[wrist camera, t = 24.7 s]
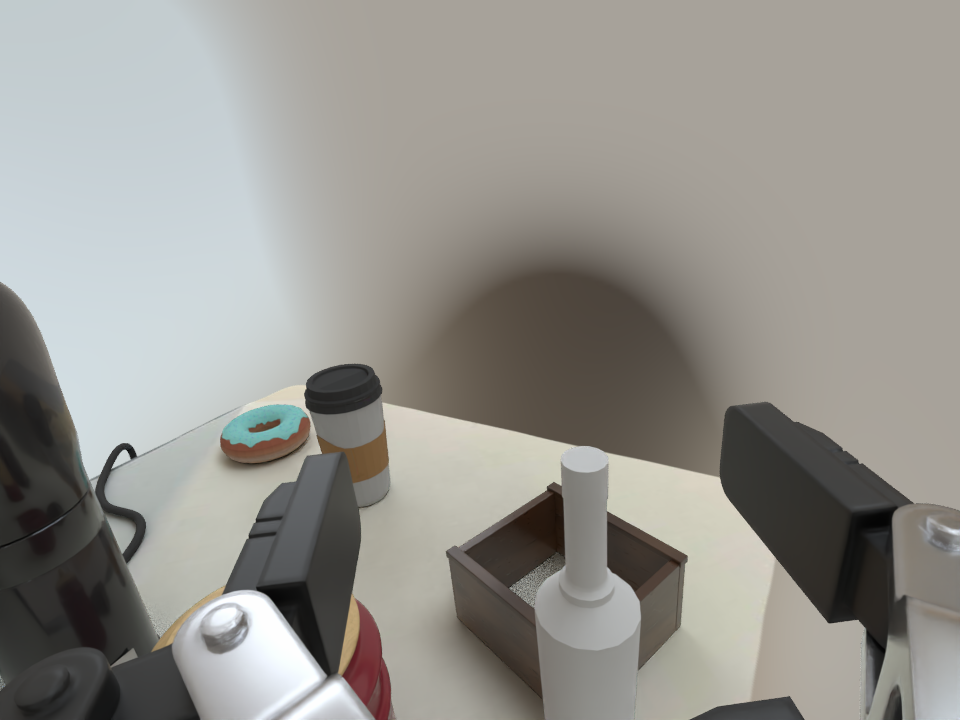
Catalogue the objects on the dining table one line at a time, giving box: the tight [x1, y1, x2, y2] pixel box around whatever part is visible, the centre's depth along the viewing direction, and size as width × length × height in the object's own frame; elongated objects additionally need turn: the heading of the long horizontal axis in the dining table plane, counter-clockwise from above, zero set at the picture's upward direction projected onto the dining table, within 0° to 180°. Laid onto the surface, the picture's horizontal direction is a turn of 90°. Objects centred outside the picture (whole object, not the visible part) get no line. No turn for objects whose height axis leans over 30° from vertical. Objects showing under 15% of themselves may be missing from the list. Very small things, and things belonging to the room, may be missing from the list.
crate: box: [446, 482, 688, 699], centre depth 45 cm, size 14×13×7 cm
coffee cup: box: [304, 364, 390, 507], centre depth 63 cm, size 8×8×15 cm
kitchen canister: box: [151, 585, 396, 720], centre depth 32 cm, size 13×13×18 cm
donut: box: [220, 405, 310, 463], centre depth 77 cm, size 12×12×4 cm
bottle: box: [534, 446, 641, 720], centre depth 29 cm, size 5×5×25 cm
